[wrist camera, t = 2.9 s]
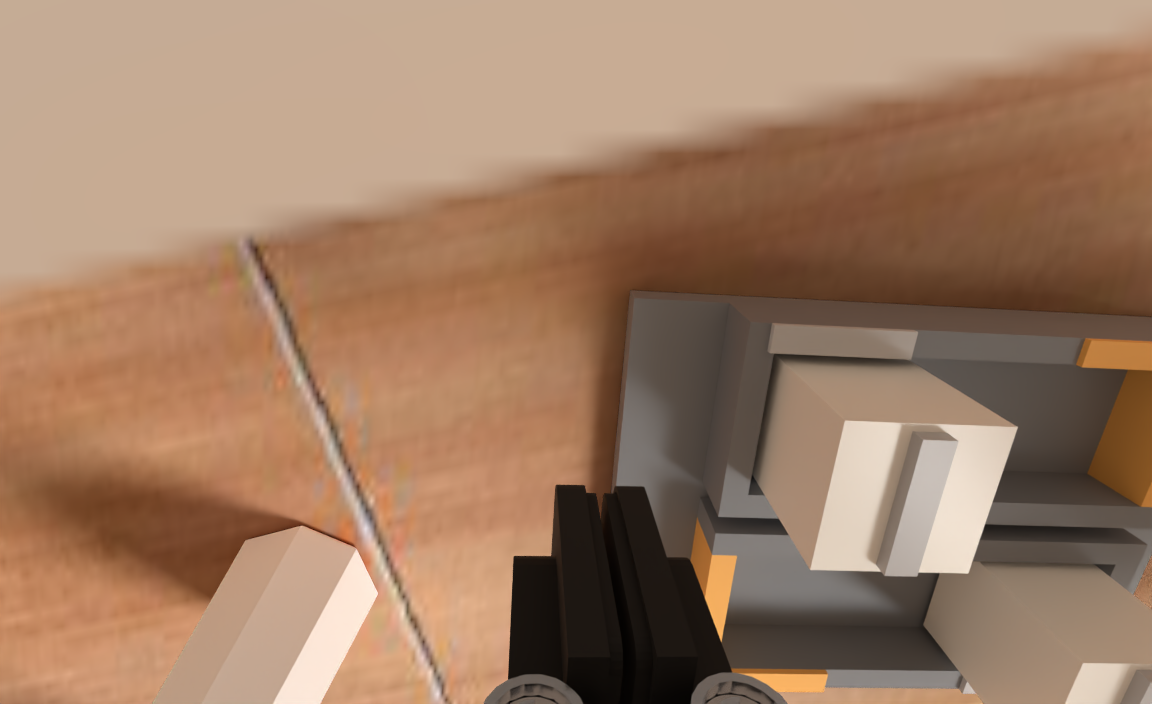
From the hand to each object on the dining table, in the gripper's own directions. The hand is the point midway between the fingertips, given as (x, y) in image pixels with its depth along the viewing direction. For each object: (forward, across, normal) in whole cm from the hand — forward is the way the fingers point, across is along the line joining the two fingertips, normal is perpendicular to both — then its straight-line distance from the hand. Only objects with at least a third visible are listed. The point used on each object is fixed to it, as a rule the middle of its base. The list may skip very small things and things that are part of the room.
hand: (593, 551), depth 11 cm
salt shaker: (+9, +9, +9) cm, 16 cm away
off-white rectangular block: (+8, -8, 0) cm, 11 cm away
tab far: (+7, -16, +7) cm, 19 cm away
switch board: (+9, -12, +4) cm, 15 cm away
